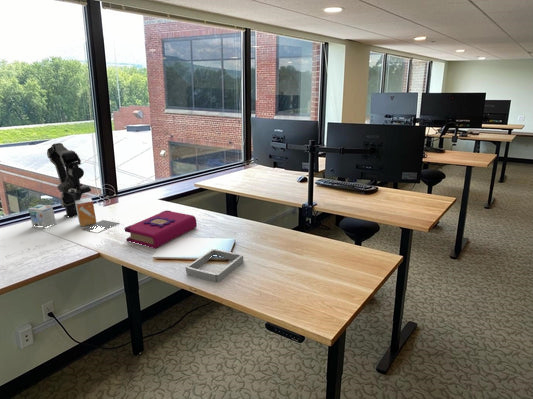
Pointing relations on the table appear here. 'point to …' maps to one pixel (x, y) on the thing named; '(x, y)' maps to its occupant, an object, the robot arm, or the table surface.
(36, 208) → the light bulb box
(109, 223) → the mat
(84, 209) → the small box
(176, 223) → the book
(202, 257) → the frame
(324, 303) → the table surface
